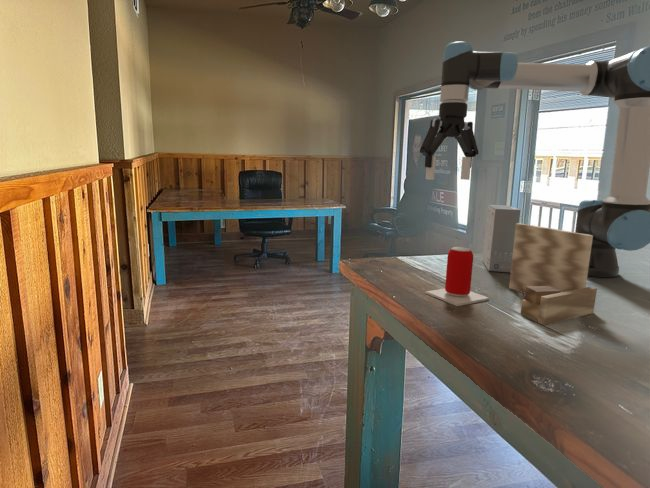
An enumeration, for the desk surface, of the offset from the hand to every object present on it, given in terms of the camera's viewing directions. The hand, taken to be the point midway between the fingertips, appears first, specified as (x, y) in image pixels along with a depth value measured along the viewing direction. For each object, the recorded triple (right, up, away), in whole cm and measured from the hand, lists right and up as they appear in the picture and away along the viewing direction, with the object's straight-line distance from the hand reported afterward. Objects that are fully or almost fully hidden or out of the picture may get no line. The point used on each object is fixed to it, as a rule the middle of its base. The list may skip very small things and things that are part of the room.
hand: (447, 179), depth 130 cm
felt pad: (-2, -32, -14) cm, 35 cm away
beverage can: (-2, -32, -14) cm, 35 cm away
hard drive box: (+21, -26, +19) cm, 39 cm away
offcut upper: (+14, -32, -27) cm, 44 cm away
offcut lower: (+14, -35, -26) cm, 46 cm away
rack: (+14, -33, -19) cm, 41 cm away
